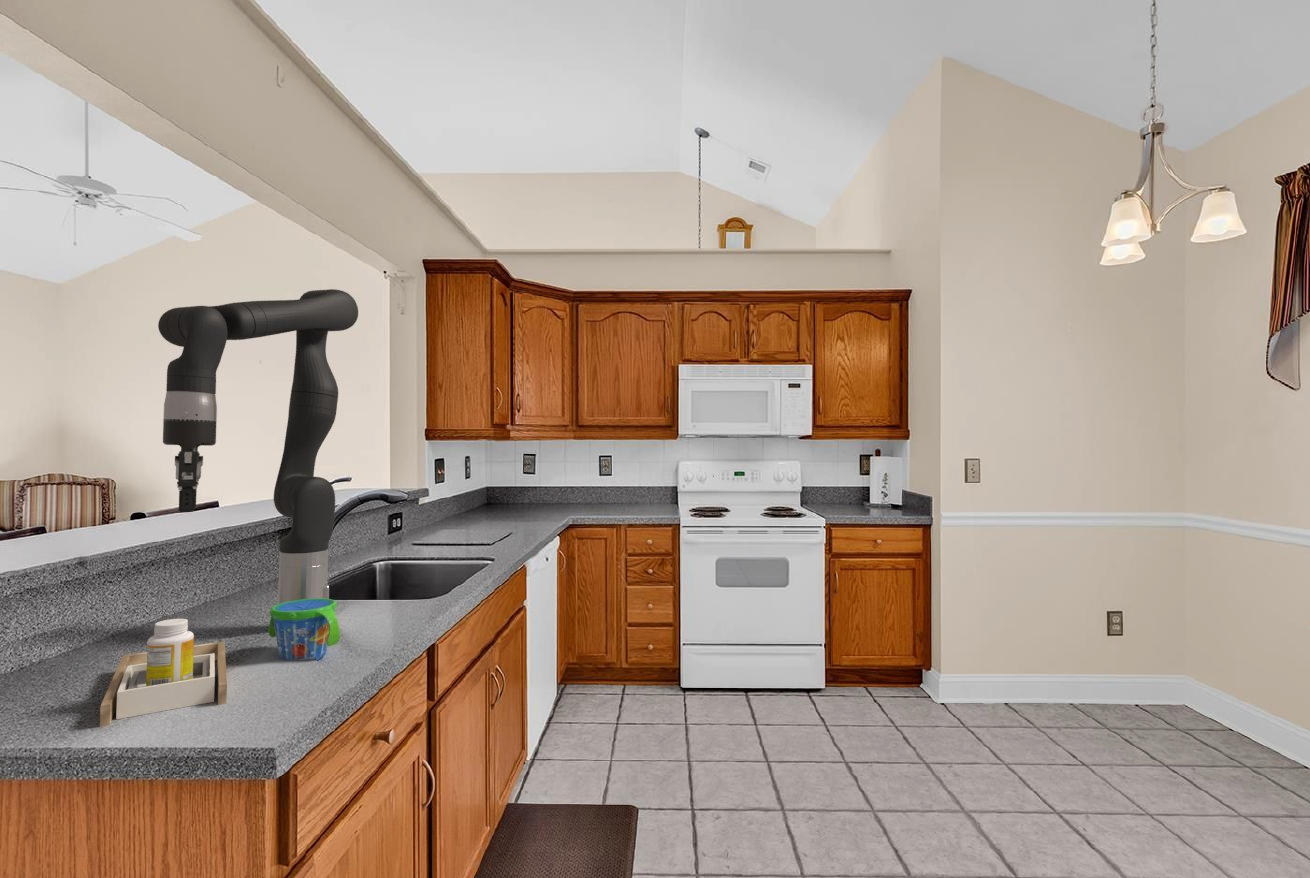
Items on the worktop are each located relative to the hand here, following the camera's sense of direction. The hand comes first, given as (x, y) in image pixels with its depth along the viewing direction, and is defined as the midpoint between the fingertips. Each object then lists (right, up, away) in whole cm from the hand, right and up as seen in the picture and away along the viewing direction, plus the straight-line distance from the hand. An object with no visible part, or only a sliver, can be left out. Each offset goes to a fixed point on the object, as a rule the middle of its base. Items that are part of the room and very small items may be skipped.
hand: (187, 510), depth 108 cm
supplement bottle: (+9, -26, -16) cm, 32 cm away
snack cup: (+17, -29, +6) cm, 34 cm away
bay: (+6, -28, -11) cm, 31 cm away
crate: (+9, -27, -15) cm, 32 cm away
